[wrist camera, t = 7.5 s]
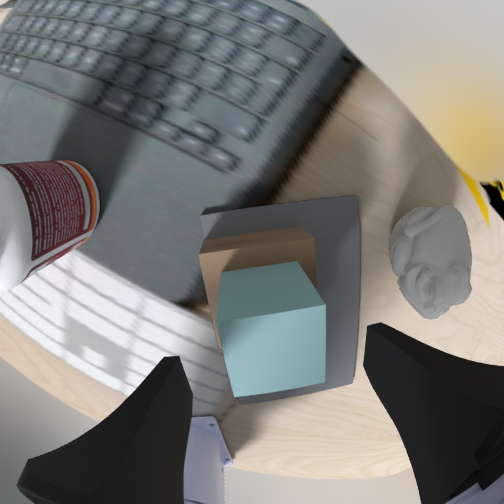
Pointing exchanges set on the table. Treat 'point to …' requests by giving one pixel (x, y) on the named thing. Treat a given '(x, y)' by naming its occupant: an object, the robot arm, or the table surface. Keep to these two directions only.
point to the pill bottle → (43, 215)
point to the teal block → (271, 329)
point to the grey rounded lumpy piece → (432, 259)
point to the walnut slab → (254, 257)
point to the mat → (327, 272)
